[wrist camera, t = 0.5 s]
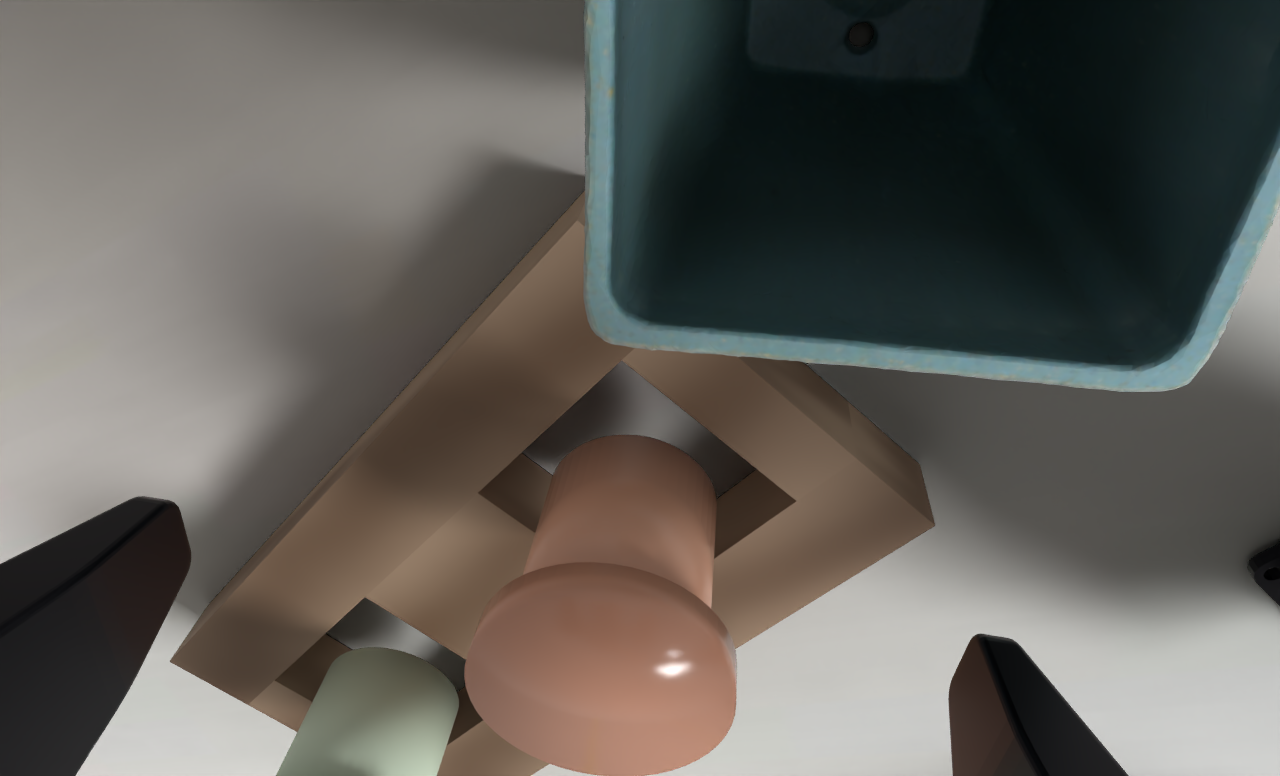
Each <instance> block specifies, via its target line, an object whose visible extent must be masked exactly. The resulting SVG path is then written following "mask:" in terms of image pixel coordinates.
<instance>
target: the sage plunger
mask: <svg viewBox="0 0 1280 776" xmlns="http://www.w3.org/2000/svg"><path fill="white" fill-rule="evenodd" d="M458 708H459V698H458V694H457V692H456V689H455V688H454V686H453V684H452V683H451V682H450V680H449V679H448V678H447V677H446V676H445V675H444V674H443V673H442V672H441V671H440V670H438V669H437V668H436V667H434V666H433V665H431V664H430V663H428V662H426V661H424V660H423V659H421V658H418V657H416V656H414V655H411V654H408V653H406V652H402V651H398V650H394V649H388V648H379V647H368V648H360V649H355V650H351V651H348V652H346V653H344V654H342V655H340V656H339V657H338V658H336V659H335V660H334V661H333V663H332V664H331V666H330V667H329V669H328V671H327V673H326V675H325V678H324V680H323V682H322V684H321V686H320V688H319V690H318V692H317V694H316V696H315V698H314V700H313V702H312V704H311V706H310V708H309V710H308V712H307V714H306V716H305V718H304V720H303V722H302V724H301V726H300V728H299V730H298V732H297V734H296V736H295V738H294V740H293V742H292V744H291V746H290V748H289V750H288V752H287V754H286V757H285V759H284V761H283V763H282V765H281V767H280V769H279V771H278V773H277V775H276V776H437V773H438V770H439V767H440V764H441V761H442V758H443V755H444V752H445V749H446V746H447V743H448V740H449V737H450V734H451V731H452V728H453V725H454V721H455V718H456V715H457V712H458Z"/></svg>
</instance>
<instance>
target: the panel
mask: <svg viewBox="0 0 1280 776" xmlns="http://www.w3.org/2000/svg"><path fill="white" fill-rule="evenodd" d="M584 227H585V191H584V192H583V193H582V194H581V195H580V196H579V197H578V198H577V199H576V201H575V202H574V203H573V204H572V205H571V206H570V207H569V208H568V209H567V210H566V212H565V213H564V214H563V215H562V216H561V217H560V218H559V219H558V220H557V222H556V223H555V224H554V225H553V226H552V227H551V228H550V229H549V230H548V231H547V233H546V234H545V235H544V236H543V237H542V238H541V239H540V240H539V241H538V242H537V244H536V245H535V246H534V247H533V248H532V249H531V250H530V251H529V252H528V253H527V255H526V256H525V257H524V258H523V259H522V260H521V261H520V262H519V263H518V264H517V266H516V267H515V268H514V269H513V270H512V271H511V272H510V273H509V274H508V275H507V277H506V278H505V279H504V280H503V281H502V282H501V283H500V284H499V285H498V286H497V288H496V289H495V290H494V291H493V292H492V293H491V294H490V295H489V296H488V297H487V299H486V300H485V301H484V302H483V303H482V304H481V305H480V306H479V307H478V309H477V310H476V311H475V312H474V313H473V314H472V315H471V316H470V317H469V318H468V320H467V321H466V322H465V323H464V324H463V325H462V326H461V327H460V328H459V329H458V331H457V332H456V333H455V334H454V335H453V336H452V337H451V338H450V339H449V340H448V342H447V343H446V344H445V345H444V346H443V347H442V348H441V349H440V350H439V351H438V353H437V354H436V355H435V356H434V357H433V358H432V359H431V360H430V361H429V362H428V364H427V365H426V366H425V367H424V368H423V369H422V370H421V371H420V372H419V373H418V375H417V376H416V377H415V378H414V379H413V380H412V381H411V382H410V383H409V384H408V386H407V387H406V388H405V389H404V390H403V391H402V392H401V393H400V394H399V395H398V397H397V398H396V399H395V400H394V401H393V402H392V403H391V404H390V405H389V407H388V408H387V409H386V410H385V411H384V412H383V413H382V414H381V415H380V416H379V418H378V419H377V420H376V421H375V422H374V423H373V424H372V425H371V426H370V427H369V429H368V430H367V431H366V432H365V433H364V434H363V435H362V436H361V437H360V438H359V440H358V441H357V442H356V443H355V444H354V445H353V446H352V447H351V448H350V449H349V451H348V452H347V453H346V454H345V455H344V456H343V457H342V458H341V459H340V460H339V462H338V463H337V464H336V465H335V466H334V467H333V468H332V469H331V470H330V471H329V473H328V474H327V475H326V476H325V477H324V478H323V479H322V480H321V481H320V482H319V484H318V485H317V486H316V487H315V488H314V489H313V490H312V491H311V492H310V494H309V495H308V496H307V497H306V498H305V499H304V500H303V501H302V502H301V503H300V505H299V506H298V507H297V508H296V509H295V510H294V511H293V512H292V513H291V514H290V516H289V517H288V518H287V519H286V520H285V521H284V522H283V523H282V524H281V525H280V527H279V528H278V529H277V530H276V531H275V532H274V533H273V534H272V535H271V536H270V538H269V539H268V540H267V541H266V542H265V543H264V544H263V545H262V546H261V547H260V549H259V550H258V551H257V552H256V553H255V554H254V555H253V556H252V557H251V558H250V560H249V561H248V562H247V563H246V564H245V565H244V566H243V567H242V568H241V569H240V571H239V572H238V573H237V574H236V575H235V576H234V577H233V578H232V579H231V580H230V582H229V583H228V584H227V585H226V586H225V587H224V588H223V589H222V590H221V592H220V593H219V594H218V595H217V596H216V597H215V598H214V599H213V600H212V601H211V603H210V604H209V605H208V606H207V608H206V609H205V610H204V612H203V613H202V615H201V616H200V618H199V619H198V621H197V622H196V624H195V625H194V627H193V628H192V629H191V631H190V632H189V634H188V635H187V637H186V638H185V640H184V641H183V643H182V644H181V646H180V647H179V648H178V650H177V651H176V653H175V654H174V656H173V657H172V659H171V660H170V662H171V663H173V664H175V665H177V666H179V667H180V668H182V669H184V670H186V671H188V672H189V673H191V674H193V675H195V676H197V677H199V678H200V679H202V680H204V681H206V682H208V683H209V684H211V685H213V686H215V687H217V688H218V689H220V690H222V691H224V692H226V693H228V694H229V695H231V696H233V697H235V698H237V699H238V700H240V701H242V702H244V703H246V704H247V705H249V706H251V707H253V708H255V709H257V710H258V711H260V712H262V713H264V714H266V715H267V716H269V717H271V718H273V719H275V720H277V721H278V722H280V723H282V724H284V725H286V726H287V727H289V728H291V729H293V730H295V731H296V732H298V730H299V728H300V726H301V724H302V722H303V720H304V718H305V716H306V714H307V712H308V710H309V708H310V706H311V704H312V702H313V700H314V698H315V696H316V694H317V692H318V690H319V688H320V686H321V684H322V682H323V680H324V678H325V675H326V673H327V671H328V669H329V667H330V666H331V664H332V663H333V661H334V660H335V659H336V658H338V657H339V656H340V655H342V654H344V653H346V652H348V651H351V649H349V648H348V647H346V646H344V645H343V644H341V643H339V642H338V641H336V640H334V639H333V638H331V637H329V636H328V635H326V634H325V633H327V632H328V631H329V630H330V629H331V628H332V627H333V626H334V625H335V624H336V623H337V622H338V621H340V620H341V619H342V618H343V617H344V616H345V615H346V614H347V613H348V612H349V611H350V610H351V609H353V608H354V607H355V606H356V605H357V604H358V603H359V602H360V601H361V600H362V599H363V598H364V597H366V598H367V599H369V600H370V601H372V602H374V603H375V604H377V605H379V606H380V607H382V608H383V609H385V610H387V611H388V612H390V613H391V614H393V615H395V616H396V617H398V618H399V619H401V620H403V621H404V622H406V623H407V624H409V625H411V626H412V627H414V628H415V629H417V630H419V631H420V632H422V633H424V634H425V635H427V636H428V637H430V638H432V639H433V640H435V641H436V642H438V643H440V644H441V645H443V646H444V647H446V648H448V649H449V650H451V651H452V652H454V653H456V654H457V655H459V656H461V657H462V658H464V659H465V660H466V659H467V655H468V652H469V649H470V646H471V643H472V640H473V637H474V634H475V631H476V628H477V625H478V622H479V619H480V617H481V615H482V612H483V610H484V608H485V606H486V605H487V604H488V602H489V601H490V599H491V598H492V597H493V596H494V595H495V594H496V593H497V592H498V591H499V590H500V589H501V588H502V587H504V586H505V585H507V584H508V583H510V582H511V581H512V580H514V579H516V578H518V577H520V576H522V575H523V572H524V569H525V566H526V562H527V559H528V556H529V552H530V549H531V546H532V543H533V539H534V536H535V533H536V529H537V526H538V523H539V519H540V516H541V513H542V509H543V506H544V503H545V499H546V496H547V493H548V490H549V486H550V483H551V480H552V475H551V474H549V473H548V472H547V471H545V470H544V469H543V468H541V467H540V466H538V465H537V464H536V463H534V462H533V461H532V460H530V459H529V458H528V457H526V456H525V455H523V454H522V452H523V451H524V450H525V449H526V448H527V447H528V446H529V445H530V444H531V443H533V442H534V441H535V440H536V439H537V438H538V437H539V436H540V435H541V434H542V433H543V432H544V431H546V430H547V429H548V428H549V427H550V426H551V425H552V424H553V423H554V422H555V421H556V420H557V419H559V418H560V417H561V416H562V415H563V414H564V413H565V412H566V411H567V410H568V409H569V408H570V407H572V406H573V405H574V404H575V403H576V402H577V401H578V400H579V399H580V398H581V397H582V396H583V395H585V394H586V393H587V392H588V391H589V390H590V389H591V388H592V387H593V386H594V385H595V384H596V383H598V382H599V381H600V380H601V379H602V378H603V377H604V376H605V375H606V374H607V373H608V372H609V371H611V370H612V369H613V368H614V367H615V366H616V365H617V364H618V363H619V362H620V361H621V360H622V361H623V362H624V363H626V364H627V365H628V366H629V367H631V368H632V369H633V370H634V371H636V372H637V373H638V374H639V375H641V376H642V377H643V378H644V379H646V380H647V381H648V382H649V383H651V384H652V385H653V386H654V387H655V388H657V389H658V390H659V391H660V392H662V393H663V394H664V395H665V396H667V397H668V398H669V399H670V400H672V401H673V402H674V403H675V404H677V405H678V406H679V407H680V408H682V409H683V410H684V411H685V412H687V413H688V414H689V415H690V416H692V417H693V418H694V419H695V420H696V421H698V422H699V423H700V424H701V425H703V426H704V427H705V428H706V429H708V430H709V431H710V432H711V433H713V434H714V435H715V436H716V437H718V438H719V439H720V440H721V441H723V442H724V443H725V444H726V445H728V446H729V447H730V448H731V449H733V450H734V451H735V452H736V453H737V454H739V455H740V456H741V457H742V458H744V459H745V460H746V461H747V462H749V463H750V464H751V465H752V466H754V467H755V468H756V469H757V470H755V471H754V472H753V473H751V474H750V475H749V476H747V477H746V478H745V479H743V480H742V481H741V482H739V483H738V484H737V485H735V486H734V487H733V488H731V489H730V490H728V491H727V492H726V493H724V494H723V495H722V496H720V497H719V498H718V499H716V501H717V511H716V529H715V548H714V566H713V585H712V603H711V609H712V610H713V611H714V612H715V614H716V615H717V616H718V617H719V618H720V620H721V621H722V622H723V624H724V625H725V627H726V628H727V630H728V632H729V634H730V636H731V638H732V640H733V644H734V647H735V649H736V648H738V647H739V646H741V645H743V644H744V643H746V642H748V641H749V640H751V639H752V638H754V637H756V636H757V635H759V634H760V633H762V632H764V631H765V630H767V629H769V628H770V627H772V626H773V625H775V624H777V623H778V622H780V621H782V620H783V619H785V618H786V617H788V616H790V615H791V614H793V613H794V612H796V611H798V610H799V609H801V608H803V607H804V606H806V605H807V604H809V603H811V602H812V601H814V600H816V599H817V598H819V597H820V596H822V595H824V594H825V593H827V592H828V591H830V590H832V589H833V588H835V587H837V586H838V585H840V584H841V583H843V582H845V581H846V580H848V579H850V578H851V577H853V576H854V575H856V574H858V573H859V572H861V571H862V570H864V569H866V568H867V567H869V566H871V565H872V564H874V563H875V562H877V561H879V560H880V559H882V558H884V557H885V556H887V555H888V554H890V553H892V552H893V551H895V550H896V549H898V548H900V547H901V546H903V545H905V544H906V543H908V542H909V541H911V540H913V539H914V538H916V537H918V536H919V535H921V534H922V533H924V532H926V531H927V530H929V529H930V528H932V527H934V526H935V523H934V519H933V515H932V511H931V507H930V503H929V499H928V495H927V491H926V487H925V483H924V479H923V475H922V471H921V467H920V464H919V463H917V462H916V461H915V460H914V459H913V458H912V457H911V456H910V455H908V454H907V453H906V452H905V451H904V450H903V449H902V448H900V447H899V446H898V445H897V444H896V443H895V442H894V441H892V440H891V439H890V438H889V437H888V436H887V435H886V434H884V433H883V432H882V431H881V430H880V429H879V428H878V427H876V426H875V425H874V424H873V423H872V422H871V421H870V420H868V419H867V418H866V417H865V416H864V415H863V414H862V413H861V412H859V411H858V410H857V409H856V408H855V407H854V406H853V405H851V404H850V403H849V402H848V401H847V400H846V399H845V398H843V397H842V396H841V395H840V394H839V393H838V392H837V391H835V390H834V389H833V388H832V387H831V386H830V385H829V384H827V383H826V382H825V381H824V380H823V379H822V378H821V377H819V376H818V375H817V374H816V373H815V372H814V371H813V370H812V369H810V368H809V367H808V366H807V365H806V364H805V363H804V362H800V361H788V360H775V359H767V358H757V357H744V356H742V357H737V356H727V355H721V354H699V353H687V352H681V351H665V350H653V351H651V350H647V349H640V348H632V347H627V346H621V345H614V344H610V343H608V342H605V341H604V340H603V339H602V338H601V337H599V336H597V335H596V334H595V333H594V332H593V330H592V329H591V327H590V325H589V322H588V319H587V314H586V310H585V304H584V297H583V285H584V270H583V264H584V247H585V232H584ZM457 694H458V698H459V708H458V712H457V715H456V718H455V721H454V725H453V728H452V731H451V734H450V737H449V740H448V743H447V746H446V749H445V752H444V755H443V758H442V761H441V764H440V767H439V770H438V773H437V776H531V775H532V774H534V773H535V772H537V771H539V770H540V769H542V768H543V767H545V766H547V765H548V764H549V763H546V762H544V761H542V760H539V759H537V758H535V757H533V756H530V755H529V754H527V753H525V752H523V751H521V750H519V749H518V748H516V747H515V746H513V745H512V744H510V743H508V742H507V741H505V740H504V739H503V738H502V737H501V736H499V735H498V734H497V733H496V732H494V731H493V730H492V729H491V728H490V727H489V726H488V725H487V724H486V723H485V722H484V720H483V719H482V718H481V716H480V715H479V714H478V712H477V711H476V709H475V708H474V706H473V704H472V702H471V700H470V698H469V695H468V692H467V690H466V686H465V687H464V688H462V689H461V690H460V691H458V692H457Z"/></svg>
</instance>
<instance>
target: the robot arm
mask: <svg viewBox="0 0 1280 776" xmlns="http://www.w3.org/2000/svg"><path fill="white" fill-rule="evenodd" d="M190 563H191V550H190V546H189V542H188V538H187V535H186V531H185V527H184V523H183V520H182V516H181V512H180V509H179V507H178V506H177V505H176V504H175V503H174V502H172V501H170V500H164V499H157V498H151V497H145V496H141V497H135V498H133V499H130V500H128V501H126V502H124V503H122V504H120V505H118V506H116V507H114V508H112V509H110V510H108V511H106V512H104V513H102V514H100V515H98V516H96V517H94V518H92V519H90V520H88V521H86V522H84V523H82V524H80V525H78V526H76V527H74V528H72V529H70V530H68V531H66V532H64V533H62V534H60V535H58V536H56V537H54V538H52V539H50V540H48V541H46V542H44V543H41V544H39V545H37V546H35V547H33V548H31V549H29V550H27V551H25V552H23V553H21V554H19V555H17V556H15V557H13V558H11V559H9V560H7V561H5V562H3V563H1V564H0V776H75V775H76V774H77V772H78V771H79V769H80V768H81V766H82V764H83V763H84V761H85V760H86V758H87V757H88V755H89V753H90V752H91V750H92V749H93V747H94V745H95V744H96V742H97V741H98V739H99V738H100V736H101V734H102V733H103V731H104V730H105V728H106V727H107V725H108V723H109V722H110V720H111V719H112V717H113V716H114V714H115V712H116V711H117V709H118V707H119V706H120V704H121V702H122V701H123V699H124V697H125V696H126V694H127V692H128V691H129V689H130V687H131V685H132V683H133V681H134V679H135V678H136V676H137V674H138V672H139V670H140V668H141V666H142V664H143V662H144V660H145V658H146V656H147V654H148V652H149V650H150V648H151V646H152V644H153V642H154V640H155V638H156V636H157V634H158V632H159V630H160V628H161V626H162V624H163V622H164V620H165V618H166V616H167V614H168V612H169V610H170V608H171V606H172V604H173V602H174V600H175V598H176V596H177V594H178V592H179V590H180V588H181V586H182V584H183V582H184V580H185V578H186V575H187V573H188V571H189V567H190ZM1247 568H1248V570H1249V572H1250V574H1251V575H1252V577H1253V578H1254V580H1255V581H1256V583H1257V584H1258V585H1259V586H1260V587H1261V588H1262V589H1263V590H1264V591H1265V592H1266V593H1267V594H1268V595H1269V596H1270V597H1271V598H1272V599H1273V600H1274V601H1275V602H1276V603H1277V604H1278V605H1279V606H1280V543H1279V544H1277V545H1275V546H1273V547H1271V548H1269V549H1267V550H1265V551H1263V552H1261V553H1259V554H1257V555H1256V556H1254V557H1253V558H1251V560H1250V561H1249V562H1248V566H1247ZM1271 568H1272V569H1271ZM949 718H950V735H951V752H952V769H953V776H1128V774H1127V773H1126V772H1125V771H1124V770H1123V768H1122V767H1121V766H1120V765H1119V764H1118V762H1117V761H1116V760H1115V759H1114V758H1113V756H1112V755H1111V754H1110V753H1109V752H1108V750H1107V749H1106V748H1105V747H1104V746H1103V744H1102V743H1101V742H1100V741H1099V740H1098V738H1097V737H1096V736H1095V735H1094V734H1093V732H1092V731H1091V730H1090V729H1089V728H1088V726H1087V725H1086V724H1085V723H1084V722H1083V720H1082V719H1081V718H1080V717H1079V716H1078V714H1077V713H1076V712H1075V711H1074V710H1073V708H1072V707H1071V706H1070V705H1069V704H1068V702H1067V701H1066V700H1065V699H1064V698H1063V696H1062V695H1061V694H1060V693H1059V692H1058V690H1057V689H1056V688H1055V687H1054V686H1053V684H1052V683H1051V682H1050V681H1049V680H1048V678H1047V677H1046V676H1045V675H1044V674H1043V672H1042V671H1041V670H1040V669H1039V668H1038V666H1037V665H1036V664H1035V663H1034V662H1033V660H1032V659H1031V658H1030V657H1029V656H1028V654H1027V653H1026V652H1025V651H1024V650H1023V648H1022V647H1021V646H1020V645H1019V644H1018V643H1017V642H1015V641H1014V640H1012V639H1009V638H1004V637H998V636H992V635H986V634H977V635H975V636H974V637H973V638H972V639H971V640H970V642H969V644H968V646H967V648H966V650H965V652H964V654H963V657H962V659H961V661H960V663H959V665H958V667H957V669H956V671H955V674H954V676H953V678H952V681H951V684H950V689H949Z"/></svg>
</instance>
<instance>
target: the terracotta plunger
mask: <svg viewBox="0 0 1280 776" xmlns="http://www.w3.org/2000/svg"><path fill="white" fill-rule="evenodd" d="M716 511H717V501H716V494H715V490H714V487H713V485H712V483H711V480H710V478H709V477H708V475H707V474H706V472H705V471H704V470H703V468H702V467H701V466H700V465H699V464H698V463H697V462H696V461H695V460H694V459H693V458H692V457H690V456H689V455H688V454H686V453H685V452H683V451H682V450H680V449H678V448H676V447H675V446H673V445H671V444H668V443H666V442H663V441H661V440H657V439H654V438H650V437H645V436H639V435H612V436H605V437H601V438H597V439H594V440H591V441H589V442H586V443H584V444H582V445H580V446H578V447H577V448H575V449H574V450H572V451H571V452H570V453H568V454H567V455H566V456H565V457H564V458H563V459H562V461H561V462H560V463H559V465H558V466H557V468H556V470H555V472H554V474H553V476H552V480H551V483H550V486H549V490H548V493H547V496H546V499H545V503H544V506H543V509H542V513H541V516H540V519H539V523H538V526H537V529H536V533H535V536H534V539H533V543H532V546H531V549H530V552H529V556H528V559H527V562H526V566H525V569H524V572H523V575H522V576H520V577H518V578H516V579H514V580H512V581H511V582H510V583H508V584H507V585H505V586H504V587H502V588H501V589H500V590H499V591H498V592H497V593H496V594H495V595H494V596H493V597H492V598H491V599H490V601H489V602H488V604H487V605H486V606H485V608H484V610H483V612H482V615H481V617H480V619H479V622H478V625H477V628H476V631H475V634H474V637H473V640H472V643H471V646H470V649H469V652H468V655H467V659H466V663H465V672H464V679H465V684H466V690H467V692H468V695H469V698H470V700H471V702H472V704H473V706H474V708H475V709H476V711H477V712H478V714H479V715H480V716H481V718H482V719H483V720H484V722H485V723H486V724H487V725H488V726H489V727H490V728H491V729H492V730H493V731H494V732H496V733H497V734H498V735H499V736H501V737H502V738H503V739H504V740H505V741H507V742H508V743H510V744H512V745H513V746H515V747H516V748H518V749H519V750H521V751H523V752H525V753H527V754H529V755H530V756H533V757H535V758H537V759H539V760H542V761H544V762H546V763H549V764H552V765H555V766H558V767H561V768H565V769H569V770H573V771H576V772H582V773H587V774H593V775H602V776H645V775H652V774H658V773H663V772H667V771H671V770H674V769H677V768H680V767H683V766H686V765H688V764H690V763H692V762H694V761H696V760H698V759H700V758H701V757H703V756H705V755H706V754H708V753H709V752H710V751H712V750H713V749H714V748H715V747H716V746H717V745H718V744H719V743H720V742H721V741H722V740H723V738H724V737H725V736H726V734H727V733H728V731H729V729H730V727H731V725H732V722H733V719H734V716H735V709H736V684H737V659H736V650H735V647H734V644H733V640H732V638H731V636H730V634H729V632H728V630H727V628H726V627H725V625H724V624H723V622H722V621H721V620H720V618H719V617H718V616H717V615H716V614H715V612H714V611H713V610H712V609H711V603H712V585H713V566H714V548H715V529H716Z"/></svg>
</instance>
